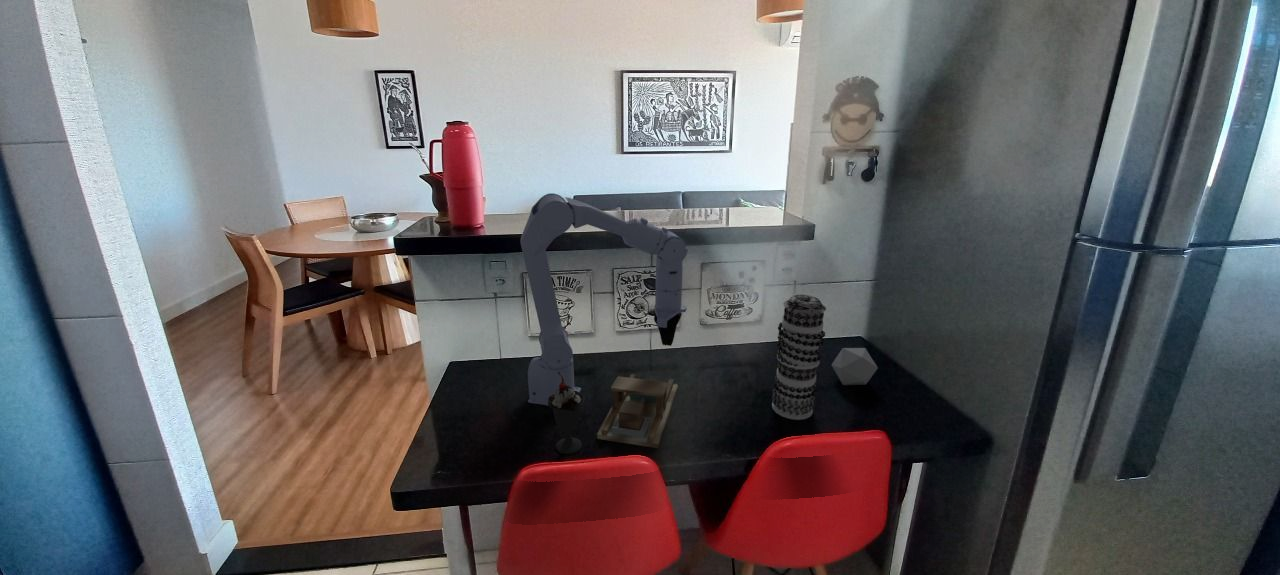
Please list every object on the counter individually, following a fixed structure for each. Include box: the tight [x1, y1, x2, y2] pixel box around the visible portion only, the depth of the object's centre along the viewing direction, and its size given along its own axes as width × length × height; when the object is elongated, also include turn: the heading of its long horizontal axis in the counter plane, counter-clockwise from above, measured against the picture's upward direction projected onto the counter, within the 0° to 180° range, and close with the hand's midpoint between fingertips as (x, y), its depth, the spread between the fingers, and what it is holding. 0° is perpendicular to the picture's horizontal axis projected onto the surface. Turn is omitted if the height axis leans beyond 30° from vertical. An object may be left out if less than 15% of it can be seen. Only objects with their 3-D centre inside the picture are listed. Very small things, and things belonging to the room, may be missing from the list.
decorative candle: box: [771, 294, 827, 421], centre depth 103 cm, size 9×9×25 cm
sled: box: [612, 377, 656, 438], centre depth 102 cm, size 6×14×5 cm, turn 166°
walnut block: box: [619, 401, 644, 431], centre depth 98 cm, size 4×4×4 cm
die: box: [831, 347, 879, 386], centre depth 116 cm, size 8×9×10 cm
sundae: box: [547, 372, 586, 455], centre depth 92 cm, size 7×7×15 cm
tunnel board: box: [596, 373, 679, 449], centre depth 105 cm, size 12×22×7 cm, turn 166°
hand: (667, 344), depth 114 cm, fingers closed
